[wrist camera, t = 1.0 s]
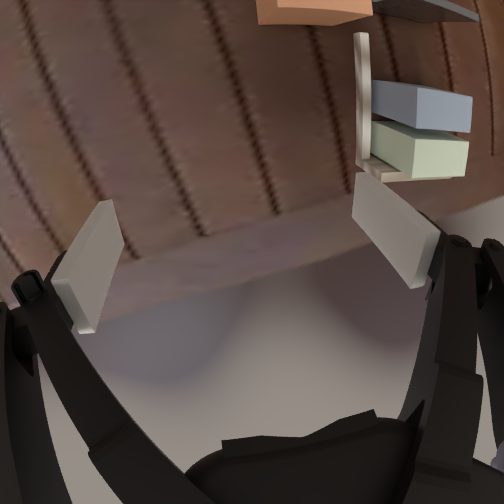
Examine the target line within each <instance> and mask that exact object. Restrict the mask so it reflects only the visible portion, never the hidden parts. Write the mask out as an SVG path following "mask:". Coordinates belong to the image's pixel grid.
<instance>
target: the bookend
mask: <svg viewBox="0 0 504 504" xmlns="http://www.w3.org/2000/svg"><path fill="white" fill-rule="evenodd" d="M371 1H372V2H373V3H372V10H373V12H376V13H381V14H386V15H391V16H396V17H400V18H404V19H408V20H412V21H416V22H420V23H434V22H479V15H478V14H476V13H474V12H472V11H470V10H467V9H465V8H463V7H461V6H458V5H456V4H454V3H451V2H449V1H446V0H371Z"/></svg>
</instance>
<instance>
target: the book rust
mask: <svg viewBox="0 0 504 504" xmlns="http://www.w3.org/2000/svg"><path fill="white" fill-rule="evenodd" d="M256 6H257V15H258V25H269V24H302V25H324V26H335V25H338V24H341V23H345V22H349V21H352V20H356V19H360V18H364V17H368V16H372V15H373V10H372V1H371V0H256Z"/></svg>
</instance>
